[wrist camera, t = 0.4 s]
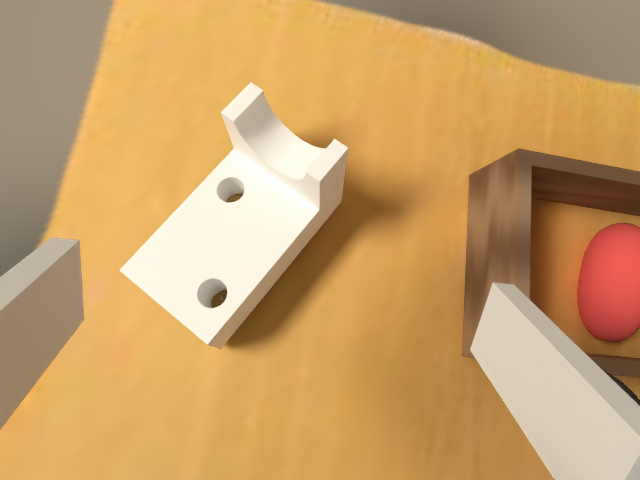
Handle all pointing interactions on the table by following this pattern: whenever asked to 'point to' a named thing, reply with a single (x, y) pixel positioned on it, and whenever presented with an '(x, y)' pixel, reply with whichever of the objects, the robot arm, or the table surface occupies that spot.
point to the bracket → (240, 222)
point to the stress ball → (611, 283)
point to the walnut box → (515, 225)
